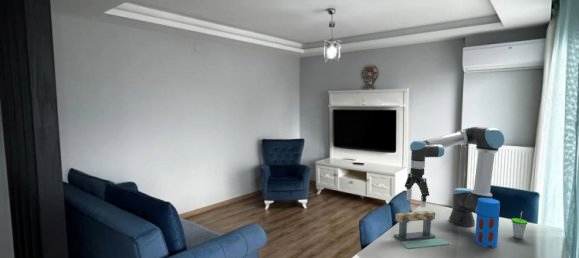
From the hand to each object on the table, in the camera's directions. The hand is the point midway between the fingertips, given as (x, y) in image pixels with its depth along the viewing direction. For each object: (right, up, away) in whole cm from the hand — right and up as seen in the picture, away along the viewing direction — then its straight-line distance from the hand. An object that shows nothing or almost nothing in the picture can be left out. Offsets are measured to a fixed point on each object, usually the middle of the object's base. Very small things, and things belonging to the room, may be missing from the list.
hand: (415, 203), depth 187 cm
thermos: (+38, -22, -6) cm, 44 cm away
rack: (0, -20, +2) cm, 21 cm away
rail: (0, -10, +1) cm, 10 cm away
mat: (+2, -21, -7) cm, 23 cm away
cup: (+62, -21, +3) cm, 66 cm away
